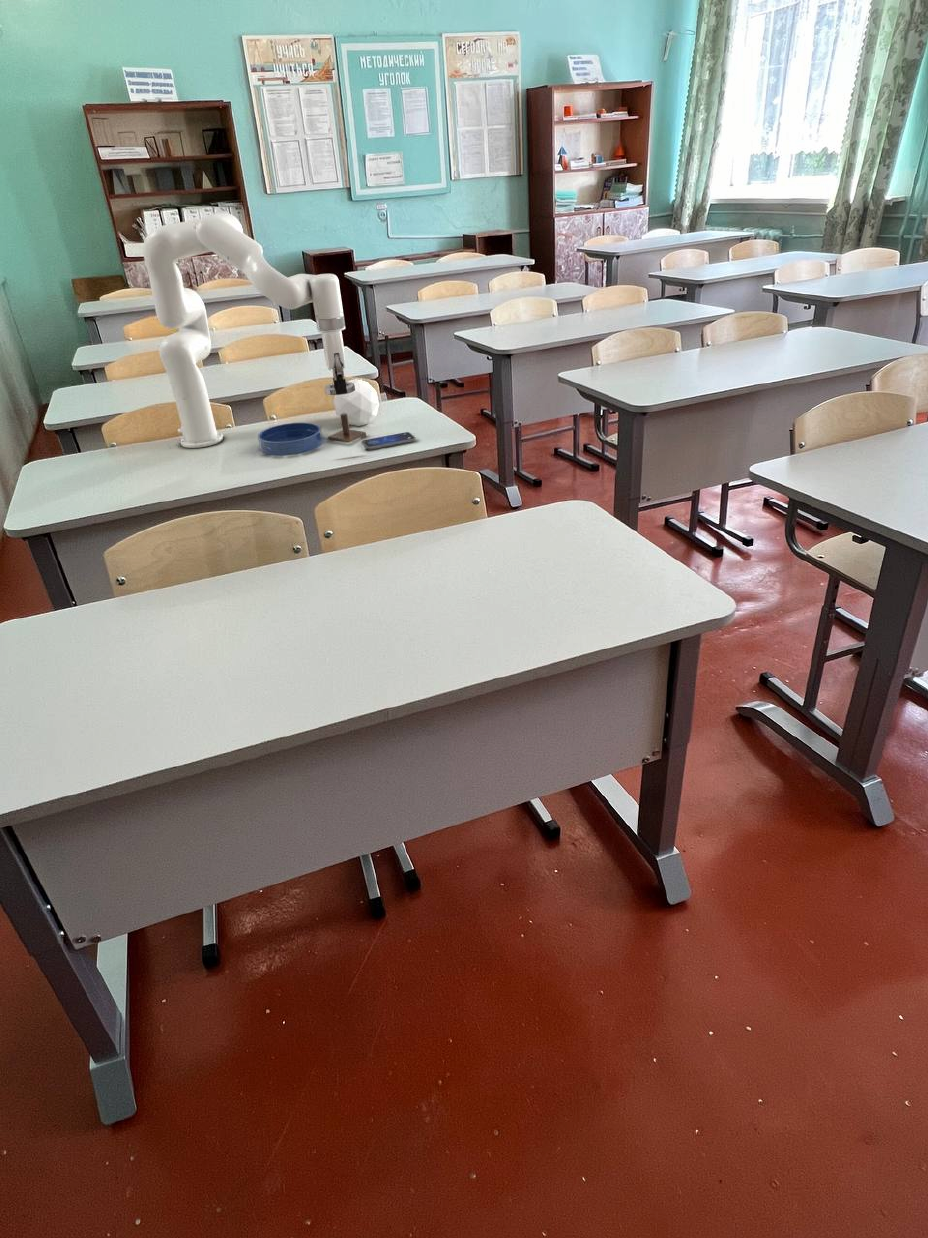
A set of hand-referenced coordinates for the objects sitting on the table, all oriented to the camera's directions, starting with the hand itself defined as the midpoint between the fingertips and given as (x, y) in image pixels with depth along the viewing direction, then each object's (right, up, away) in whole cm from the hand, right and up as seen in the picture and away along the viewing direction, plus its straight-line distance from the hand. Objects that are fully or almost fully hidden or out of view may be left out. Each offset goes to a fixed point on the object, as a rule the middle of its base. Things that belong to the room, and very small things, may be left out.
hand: (341, 392), depth 214 cm
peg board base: (0, -11, +11) cm, 15 cm away
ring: (-1, +1, +3) cm, 3 cm away
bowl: (-15, -14, +8) cm, 22 cm away
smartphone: (+13, -13, +5) cm, 19 cm away
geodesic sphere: (+2, -3, +23) cm, 23 cm away
